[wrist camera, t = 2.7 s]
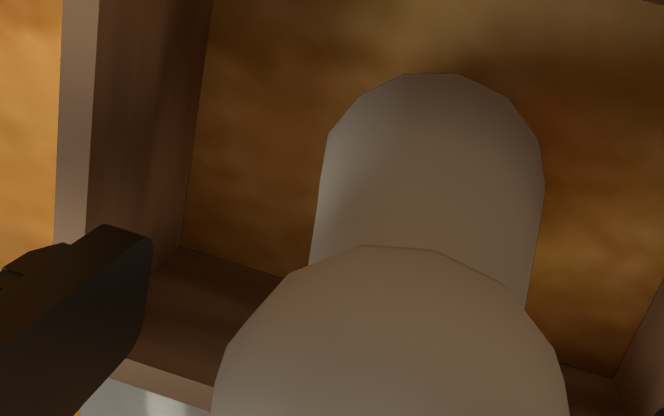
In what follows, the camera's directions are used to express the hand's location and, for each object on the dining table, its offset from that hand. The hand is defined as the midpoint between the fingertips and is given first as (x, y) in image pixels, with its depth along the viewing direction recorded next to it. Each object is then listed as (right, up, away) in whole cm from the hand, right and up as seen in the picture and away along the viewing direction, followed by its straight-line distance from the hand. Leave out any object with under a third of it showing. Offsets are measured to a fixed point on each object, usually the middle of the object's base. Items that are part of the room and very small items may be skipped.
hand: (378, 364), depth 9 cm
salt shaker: (+2, +4, +9) cm, 10 cm away
